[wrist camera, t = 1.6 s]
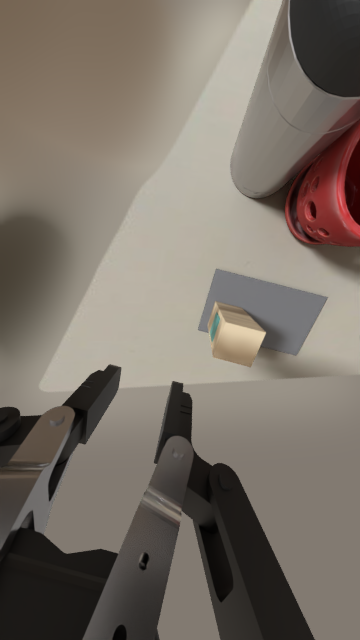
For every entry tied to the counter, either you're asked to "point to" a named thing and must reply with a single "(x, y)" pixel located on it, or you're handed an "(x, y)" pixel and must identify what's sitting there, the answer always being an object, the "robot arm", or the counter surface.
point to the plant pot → (328, 195)
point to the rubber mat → (267, 308)
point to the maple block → (234, 334)
